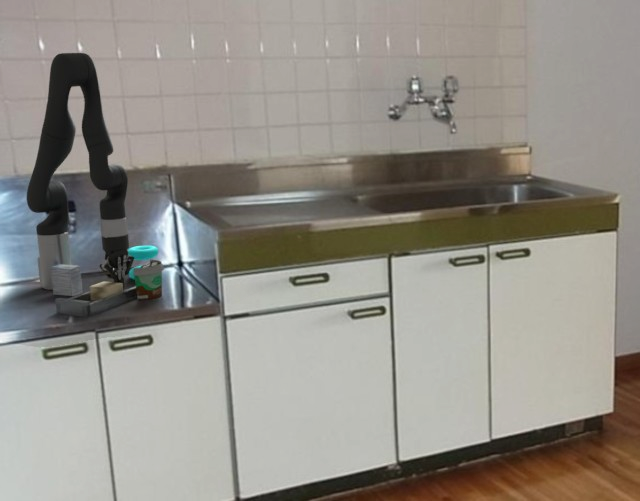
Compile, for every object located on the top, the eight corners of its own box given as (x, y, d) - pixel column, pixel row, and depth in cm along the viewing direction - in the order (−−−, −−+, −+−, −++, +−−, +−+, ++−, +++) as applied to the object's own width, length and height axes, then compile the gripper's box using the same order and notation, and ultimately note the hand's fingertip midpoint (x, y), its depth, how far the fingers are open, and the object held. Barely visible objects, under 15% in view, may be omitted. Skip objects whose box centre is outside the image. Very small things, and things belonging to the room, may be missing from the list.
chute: (56, 313, 204) (55, 299, 203) (115, 291, 225) (114, 279, 224) (87, 317, 199) (85, 302, 198) (144, 294, 220) (143, 281, 219)
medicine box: (83, 293, 225) (80, 265, 223) (72, 297, 221) (69, 268, 219) (63, 291, 228) (60, 263, 226) (52, 294, 224) (49, 267, 222)
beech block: (90, 299, 213) (89, 286, 212) (105, 294, 218) (104, 281, 217) (109, 301, 210) (108, 288, 209) (123, 296, 215) (122, 283, 214)
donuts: (153, 243, 247) (161, 248, 238) (155, 272, 249) (164, 278, 240) (123, 247, 242) (131, 252, 234) (125, 276, 244) (133, 282, 236)
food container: (155, 303, 211) (152, 268, 209) (135, 302, 212) (132, 268, 210) (172, 291, 223) (170, 259, 221) (153, 291, 224) (150, 259, 222)
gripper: (119, 228, 222) (124, 284, 226) (88, 236, 211) (94, 295, 214) (139, 230, 219) (144, 286, 223) (109, 238, 208) (114, 297, 211)
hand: (119, 291), depth 219 cm, fingers closed
